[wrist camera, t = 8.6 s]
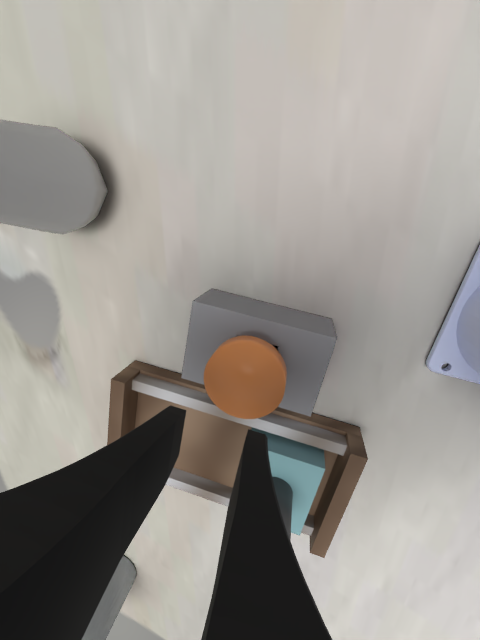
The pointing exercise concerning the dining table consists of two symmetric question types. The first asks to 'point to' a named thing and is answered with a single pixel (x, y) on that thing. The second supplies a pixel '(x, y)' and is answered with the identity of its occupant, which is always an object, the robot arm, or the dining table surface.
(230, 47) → the dining table surface
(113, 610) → the planter
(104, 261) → the dining table surface
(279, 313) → the grey rectangular block
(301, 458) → the blue block with peg
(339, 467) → the rail board
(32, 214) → the salt shaker
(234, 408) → the button
